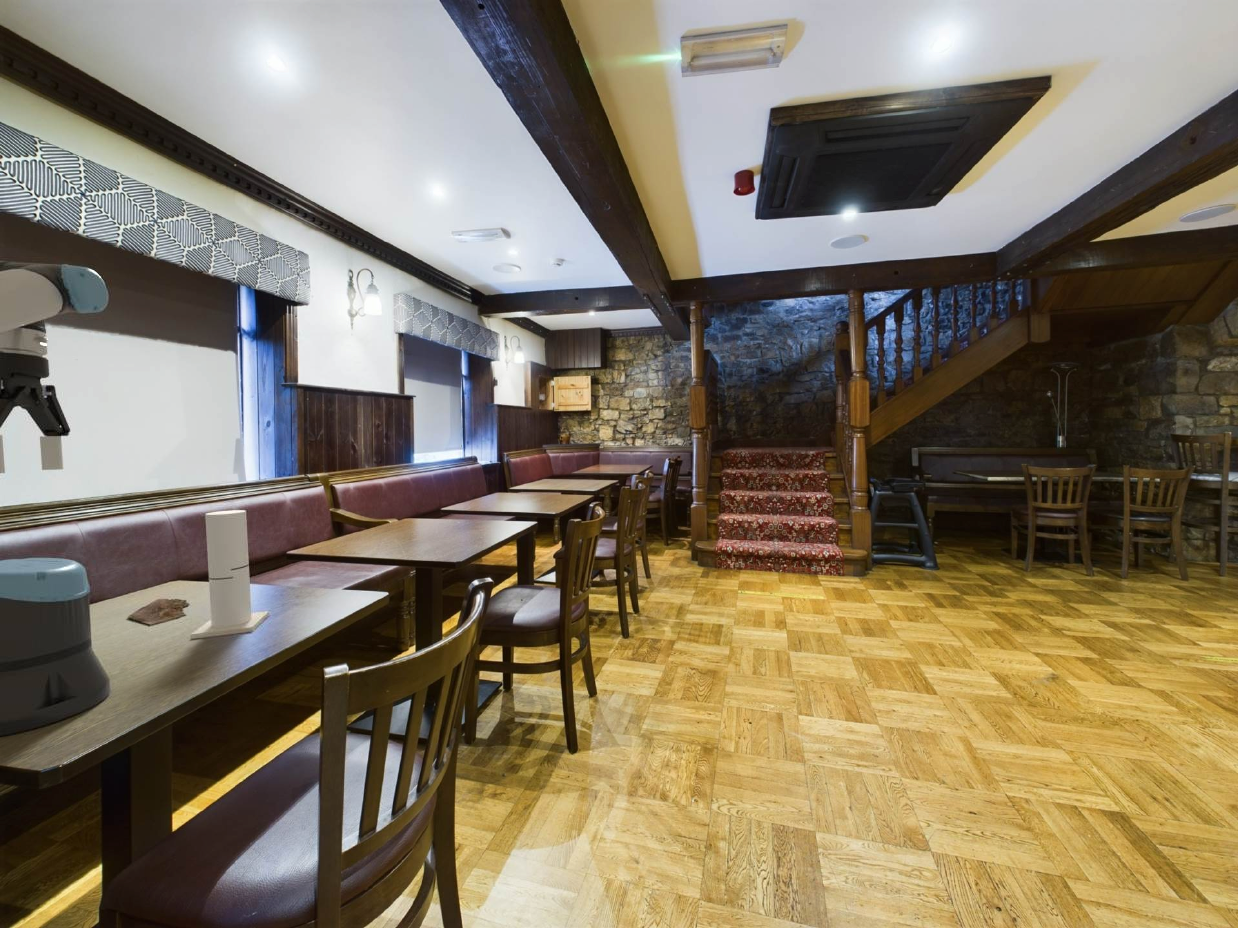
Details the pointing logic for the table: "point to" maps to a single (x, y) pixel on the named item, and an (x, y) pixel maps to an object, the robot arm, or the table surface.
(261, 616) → the ceramic tile
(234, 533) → the cylindrical container
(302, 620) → the table surface
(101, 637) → the table surface
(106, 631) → the table surface
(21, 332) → the robot arm
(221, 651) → the table surface
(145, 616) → the brown relief tablet
